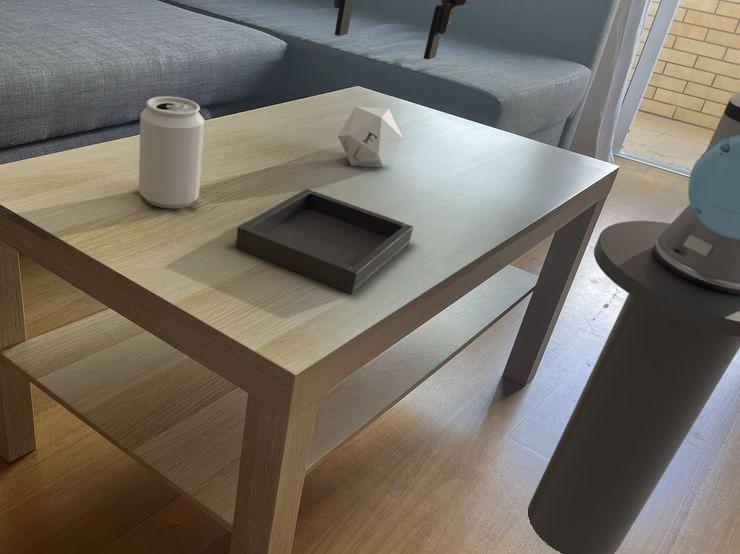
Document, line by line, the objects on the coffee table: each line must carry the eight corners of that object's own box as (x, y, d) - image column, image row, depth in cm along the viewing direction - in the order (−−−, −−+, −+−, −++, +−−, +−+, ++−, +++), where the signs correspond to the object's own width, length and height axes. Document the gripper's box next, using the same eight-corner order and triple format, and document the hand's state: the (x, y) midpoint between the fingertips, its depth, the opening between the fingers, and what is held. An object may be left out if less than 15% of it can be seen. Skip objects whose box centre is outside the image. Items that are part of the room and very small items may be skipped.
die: (322, 159, 112) (342, 121, 102) (350, 121, 115) (371, 81, 106) (368, 190, 112) (392, 155, 103) (394, 151, 115) (419, 113, 106)
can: (160, 181, 95) (163, 89, 88) (209, 197, 93) (217, 103, 86) (126, 199, 89) (127, 101, 82) (178, 217, 87) (183, 117, 80)
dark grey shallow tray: (408, 245, 89) (413, 226, 87) (351, 294, 77) (356, 273, 76) (303, 207, 94) (306, 188, 93) (235, 247, 82) (237, 226, 81)
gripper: (318, -153, 90) (294, 28, 102) (512, -122, 81) (459, 72, 93) (345, -149, 96) (318, 22, 108) (528, -120, 87) (477, 63, 99)
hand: (384, 46), depth 101 cm, fingers open, 13 cm apart
